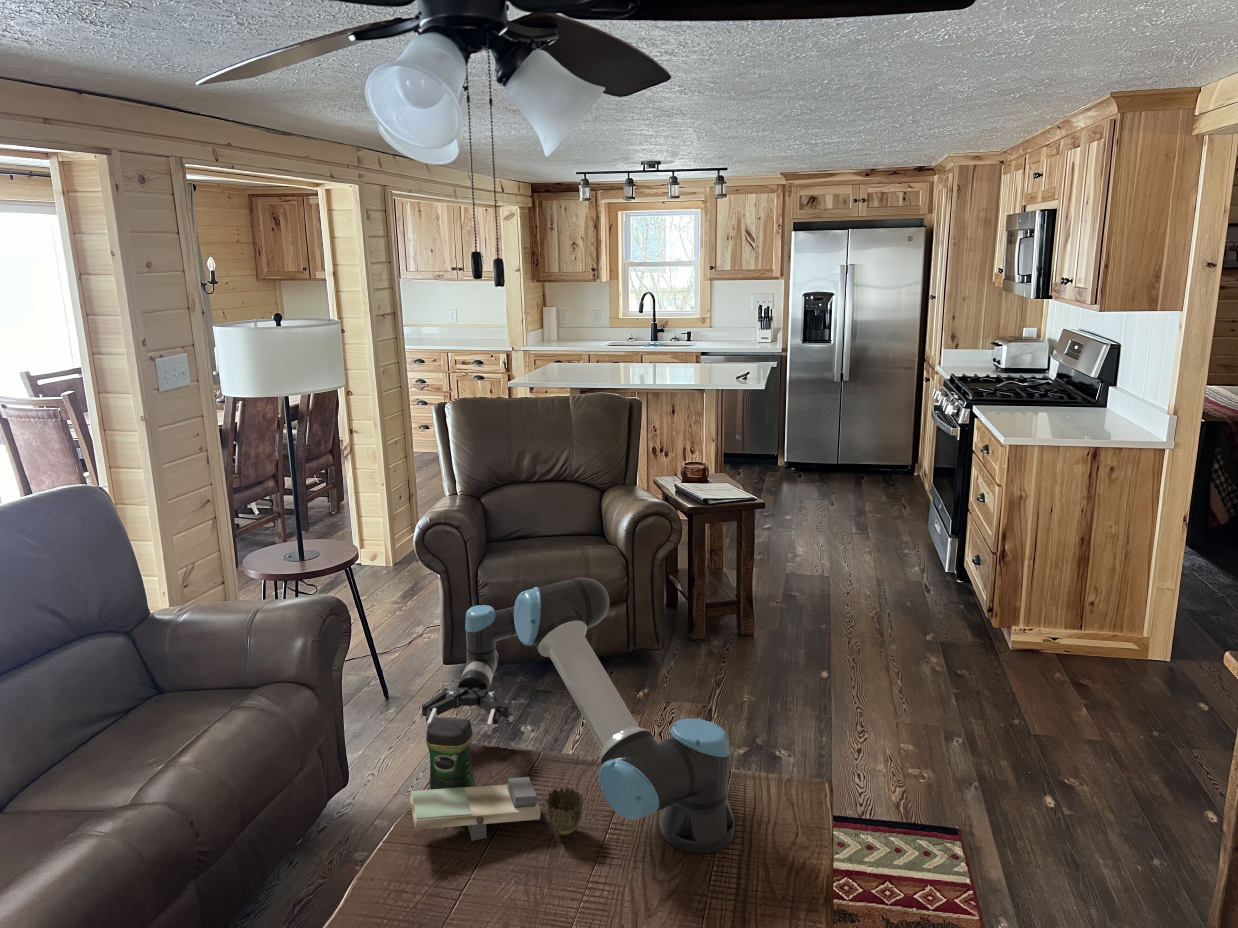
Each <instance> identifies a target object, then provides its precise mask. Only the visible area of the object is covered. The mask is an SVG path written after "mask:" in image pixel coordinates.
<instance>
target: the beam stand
mask: <svg viewBox="0 0 1238 928" xmlns="http://www.w3.org/2000/svg"><path fill="white" fill-rule="evenodd" d="M466 826H467V829H468V833H469V836H470V840H471V842H474V841H477V840H481V839H487V824H480V825H479V824H477V825H466Z"/></svg>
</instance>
